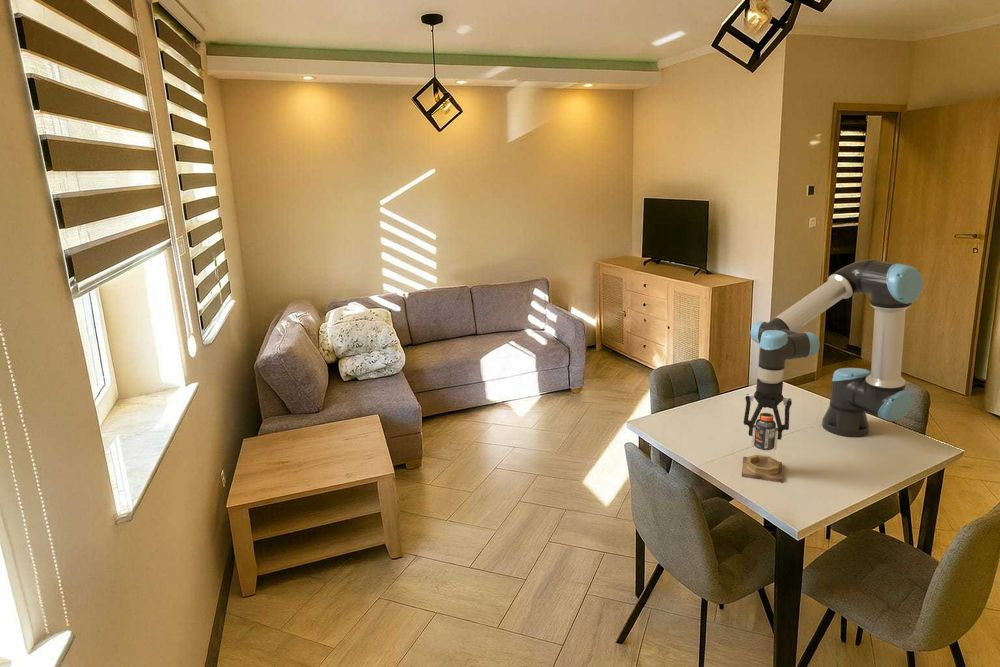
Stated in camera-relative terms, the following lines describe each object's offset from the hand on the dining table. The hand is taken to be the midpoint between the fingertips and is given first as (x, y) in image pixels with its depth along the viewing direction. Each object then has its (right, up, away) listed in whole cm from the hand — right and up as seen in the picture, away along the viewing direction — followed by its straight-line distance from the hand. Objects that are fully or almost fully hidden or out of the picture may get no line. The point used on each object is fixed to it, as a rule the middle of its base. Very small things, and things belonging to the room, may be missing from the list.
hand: (763, 446), depth 197 cm
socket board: (+1, -9, +3) cm, 9 cm away
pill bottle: (0, 0, 0) cm, 0 cm away
